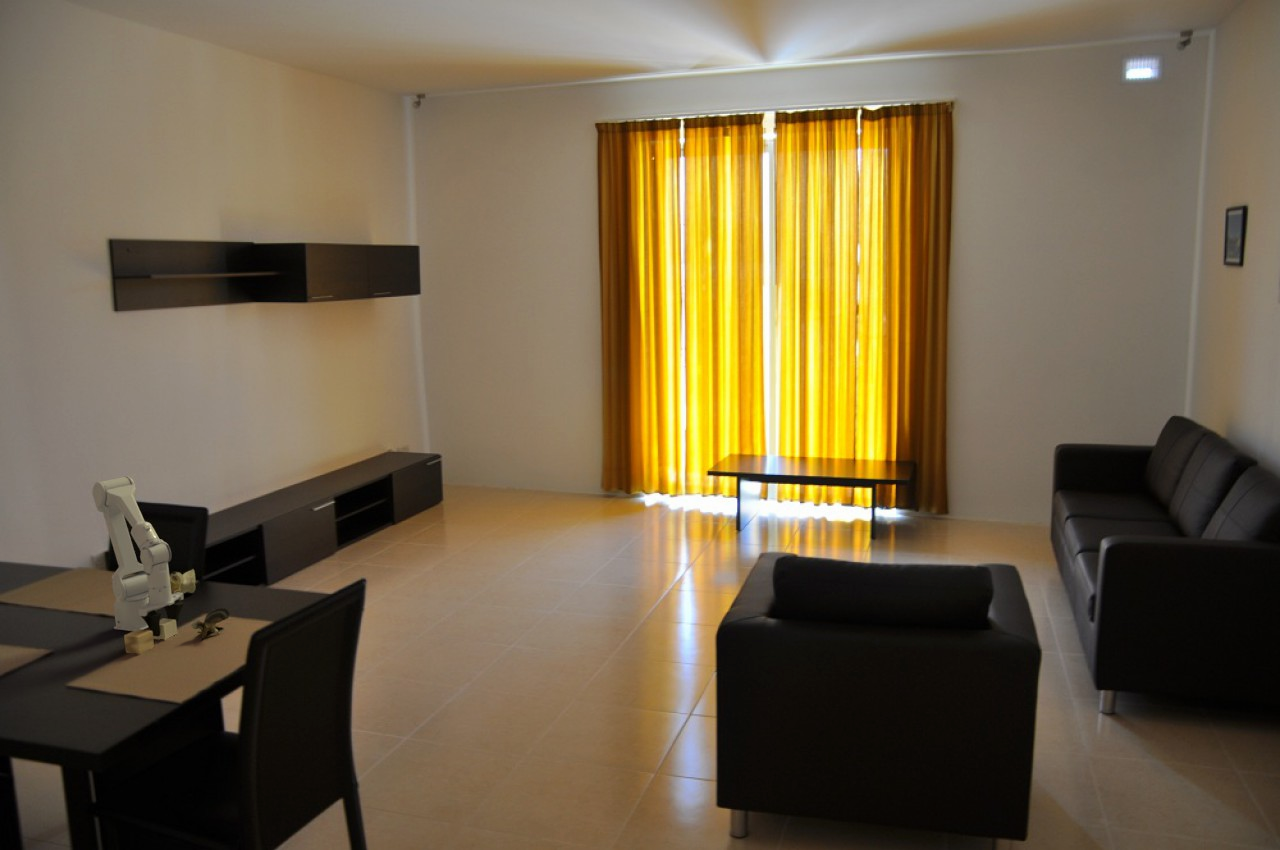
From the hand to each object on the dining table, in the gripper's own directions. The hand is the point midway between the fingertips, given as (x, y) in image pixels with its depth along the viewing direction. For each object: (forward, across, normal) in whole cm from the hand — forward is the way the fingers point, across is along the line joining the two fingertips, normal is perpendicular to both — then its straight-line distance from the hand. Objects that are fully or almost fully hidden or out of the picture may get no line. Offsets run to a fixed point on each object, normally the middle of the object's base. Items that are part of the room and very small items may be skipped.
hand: (164, 631), depth 297 cm
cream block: (+2, 0, 0) cm, 2 cm away
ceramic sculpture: (+2, +28, +23) cm, 36 cm away
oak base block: (+2, -10, -1) cm, 10 cm away
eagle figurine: (+2, +5, -12) cm, 13 cm away
